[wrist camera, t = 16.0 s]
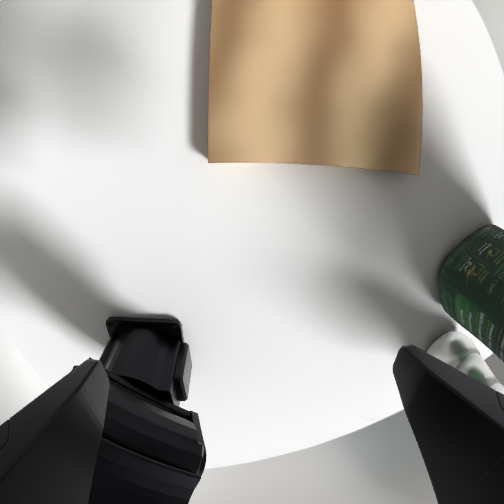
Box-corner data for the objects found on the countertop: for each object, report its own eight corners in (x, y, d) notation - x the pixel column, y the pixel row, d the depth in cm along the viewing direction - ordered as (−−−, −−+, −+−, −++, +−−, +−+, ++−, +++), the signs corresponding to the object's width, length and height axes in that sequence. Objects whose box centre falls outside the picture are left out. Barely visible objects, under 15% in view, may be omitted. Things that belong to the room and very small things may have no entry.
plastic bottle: (451, 313, 24) (560, 449, 6) (466, 339, 26) (552, 453, 8) (408, 355, 26) (494, 507, 7) (428, 375, 28) (499, 499, 9)
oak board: (210, 161, 17) (208, 162, 16) (222, -85, 9) (221, -95, 8) (407, 171, 18) (418, 175, 17) (389, -57, 10) (396, -64, 8)
